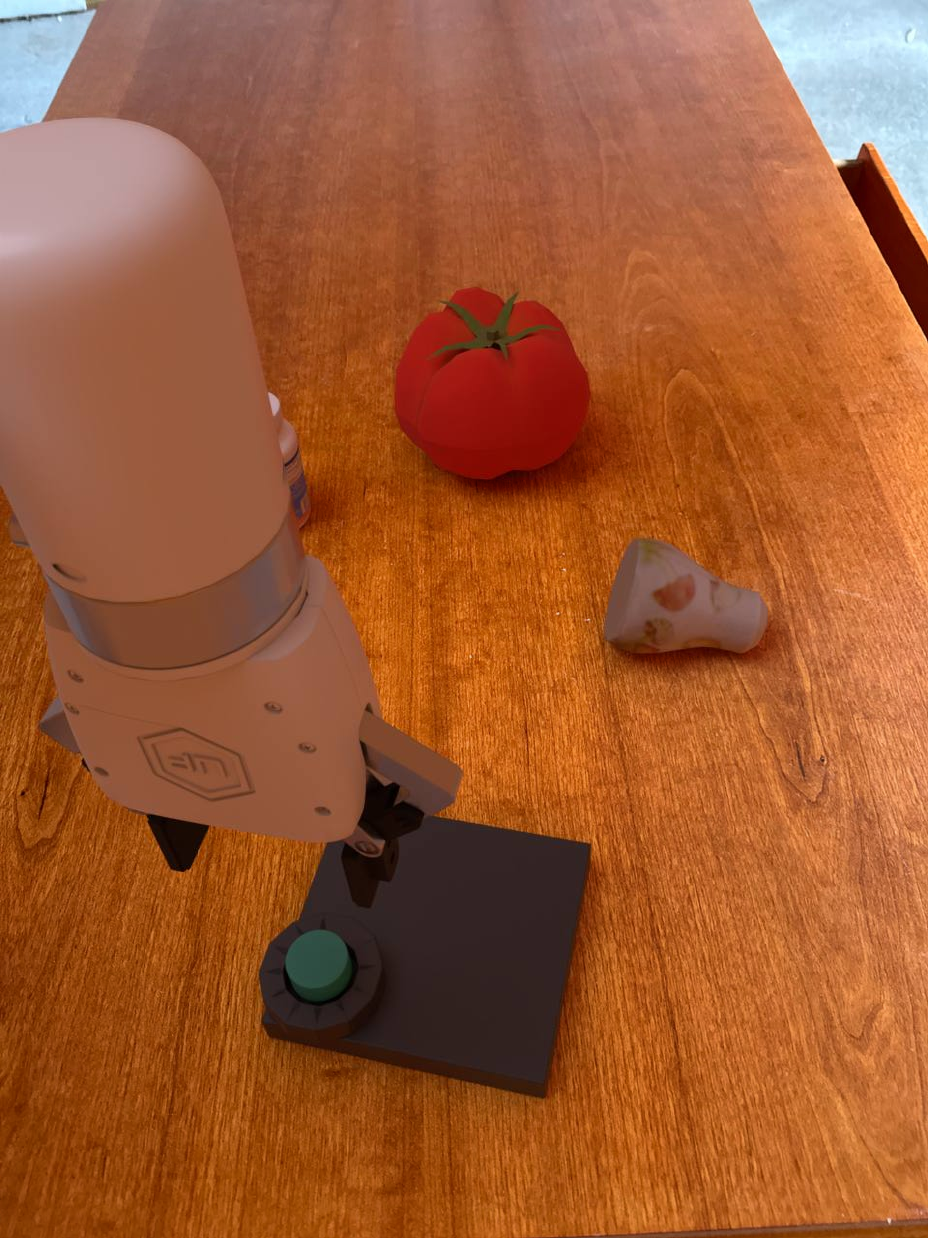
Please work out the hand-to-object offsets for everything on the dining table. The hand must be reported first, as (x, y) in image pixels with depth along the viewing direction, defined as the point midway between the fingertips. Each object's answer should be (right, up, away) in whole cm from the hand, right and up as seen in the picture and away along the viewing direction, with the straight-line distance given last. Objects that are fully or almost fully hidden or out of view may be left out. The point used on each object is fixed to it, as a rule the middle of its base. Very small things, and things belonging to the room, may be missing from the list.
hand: (282, 857), depth 48 cm
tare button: (+1, -7, +8) cm, 11 cm away
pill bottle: (-6, +17, +35) cm, 40 cm away
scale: (+6, -7, +12) cm, 15 cm away
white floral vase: (+22, +9, +25) cm, 34 cm away
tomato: (+10, +23, +39) cm, 46 cm away
